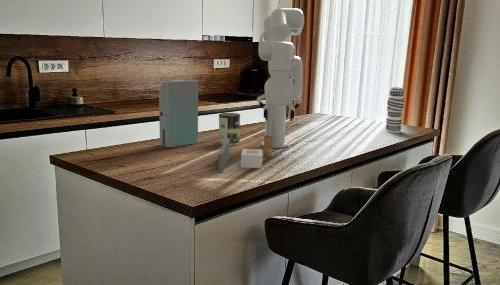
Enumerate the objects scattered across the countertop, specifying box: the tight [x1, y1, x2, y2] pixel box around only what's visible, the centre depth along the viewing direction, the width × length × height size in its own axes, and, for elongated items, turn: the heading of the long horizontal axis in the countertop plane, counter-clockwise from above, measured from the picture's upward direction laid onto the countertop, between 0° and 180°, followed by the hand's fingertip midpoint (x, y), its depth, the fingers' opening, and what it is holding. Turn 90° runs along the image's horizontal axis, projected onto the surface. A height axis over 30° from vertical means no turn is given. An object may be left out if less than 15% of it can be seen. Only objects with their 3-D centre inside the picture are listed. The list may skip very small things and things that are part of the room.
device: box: [158, 79, 199, 148], centre depth 214 cm, size 16×8×30 cm, turn 132°
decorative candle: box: [385, 86, 405, 134], centre depth 261 cm, size 9×9×25 cm
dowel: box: [263, 134, 273, 159], centre depth 194 cm, size 3×3×10 cm
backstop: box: [217, 138, 231, 174], centre depth 181 cm, size 28×18×8 cm, turn 177°
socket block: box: [240, 148, 264, 169], centre depth 182 cm, size 10×8×5 cm
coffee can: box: [218, 112, 241, 146], centre depth 221 cm, size 10×10×14 cm
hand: (278, 120), depth 177 cm, fingers open, 9 cm apart
